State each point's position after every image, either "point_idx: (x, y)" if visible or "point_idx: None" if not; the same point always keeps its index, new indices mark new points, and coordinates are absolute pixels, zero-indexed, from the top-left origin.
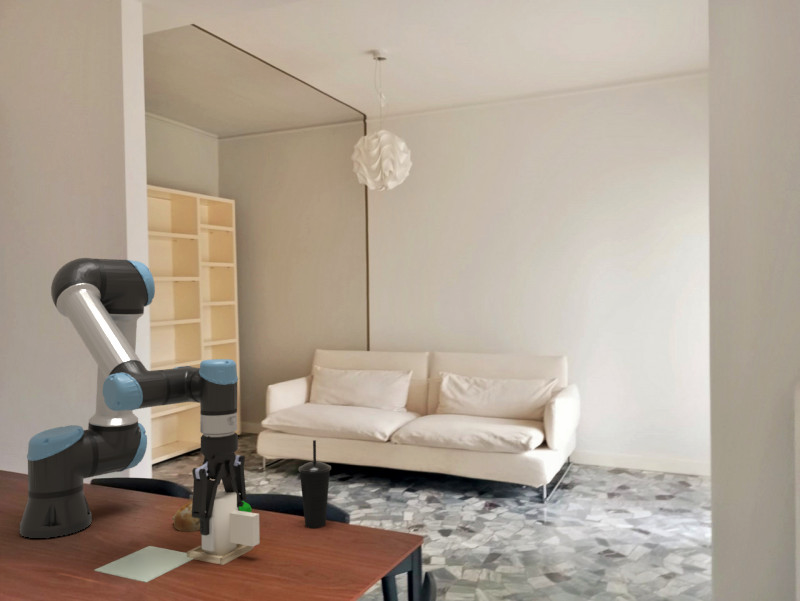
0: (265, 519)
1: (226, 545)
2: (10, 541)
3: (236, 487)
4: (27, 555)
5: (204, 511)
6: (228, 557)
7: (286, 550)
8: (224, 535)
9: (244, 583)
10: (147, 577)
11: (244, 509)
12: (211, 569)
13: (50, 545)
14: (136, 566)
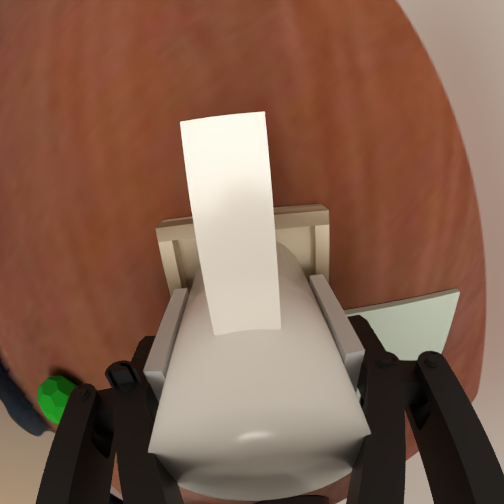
0: (26, 348)
1: (277, 255)
2: (339, 500)
3: (122, 471)
4: None
5: (430, 377)
6: (298, 211)
7: (101, 126)
8: (290, 277)
9: (376, 63)
10: (443, 308)
11: (55, 397)
12: (347, 224)
13: (337, 485)
14: None
